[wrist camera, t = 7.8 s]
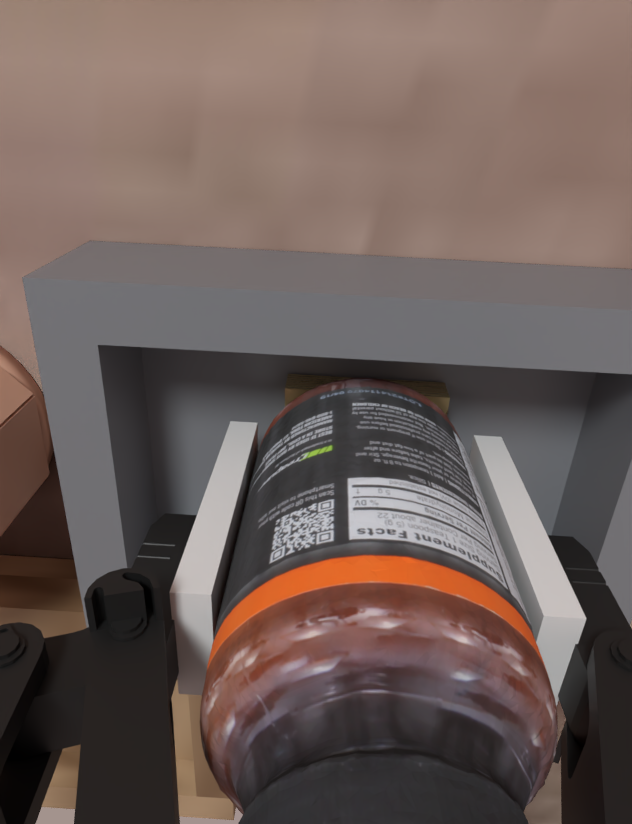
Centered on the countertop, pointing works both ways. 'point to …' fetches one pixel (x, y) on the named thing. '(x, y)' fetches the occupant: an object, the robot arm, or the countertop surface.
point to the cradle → (326, 374)
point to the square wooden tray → (63, 613)
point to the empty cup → (21, 439)
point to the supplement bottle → (373, 629)
